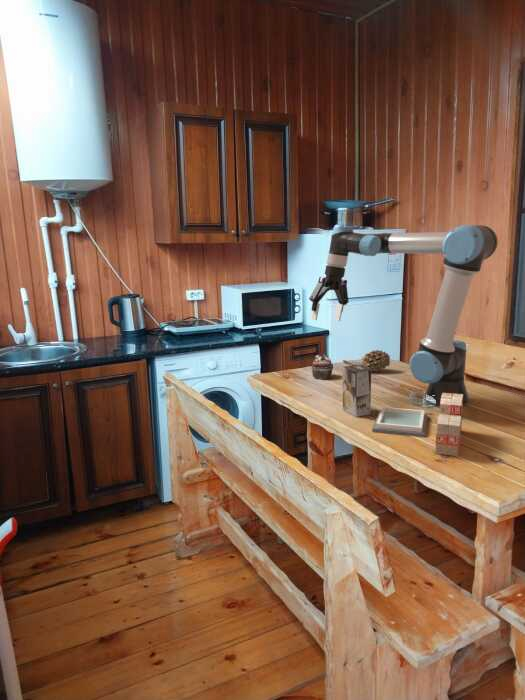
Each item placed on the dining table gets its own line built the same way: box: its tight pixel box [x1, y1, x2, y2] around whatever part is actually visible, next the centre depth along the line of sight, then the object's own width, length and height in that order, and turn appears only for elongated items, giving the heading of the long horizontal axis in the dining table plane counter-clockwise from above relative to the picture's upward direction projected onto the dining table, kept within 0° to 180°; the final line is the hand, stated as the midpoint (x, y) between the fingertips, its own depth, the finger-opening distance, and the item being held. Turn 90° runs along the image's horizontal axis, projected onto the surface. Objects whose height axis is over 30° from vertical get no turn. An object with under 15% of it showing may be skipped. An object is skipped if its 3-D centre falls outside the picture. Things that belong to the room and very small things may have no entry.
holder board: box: [372, 406, 428, 438], centre depth 173 cm, size 16×19×2 cm
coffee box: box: [342, 365, 372, 418], centre depth 184 cm, size 9×6×16 cm
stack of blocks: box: [434, 393, 464, 457], centre depth 157 cm, size 21×6×12 cm, turn 158°
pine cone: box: [342, 349, 391, 373], centre depth 238 cm, size 22×10×10 cm, turn 94°
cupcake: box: [310, 353, 334, 381], centre depth 231 cm, size 10×10×10 cm
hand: (325, 319), depth 207 cm, fingers open, 13 cm apart
